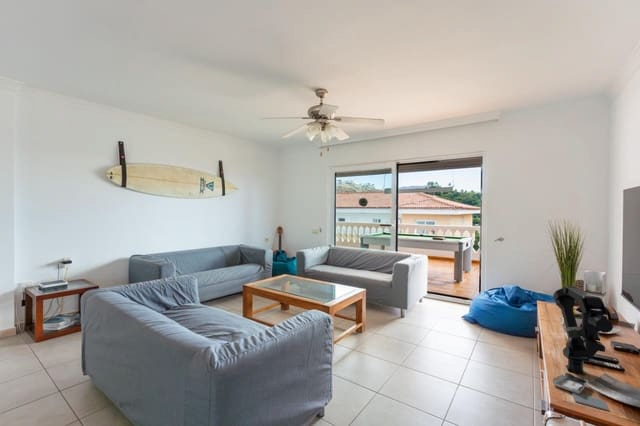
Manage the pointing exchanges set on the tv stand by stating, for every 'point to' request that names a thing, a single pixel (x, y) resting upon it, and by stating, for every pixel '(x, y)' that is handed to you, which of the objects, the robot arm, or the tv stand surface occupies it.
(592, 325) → the robot arm
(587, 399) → the mat
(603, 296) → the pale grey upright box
